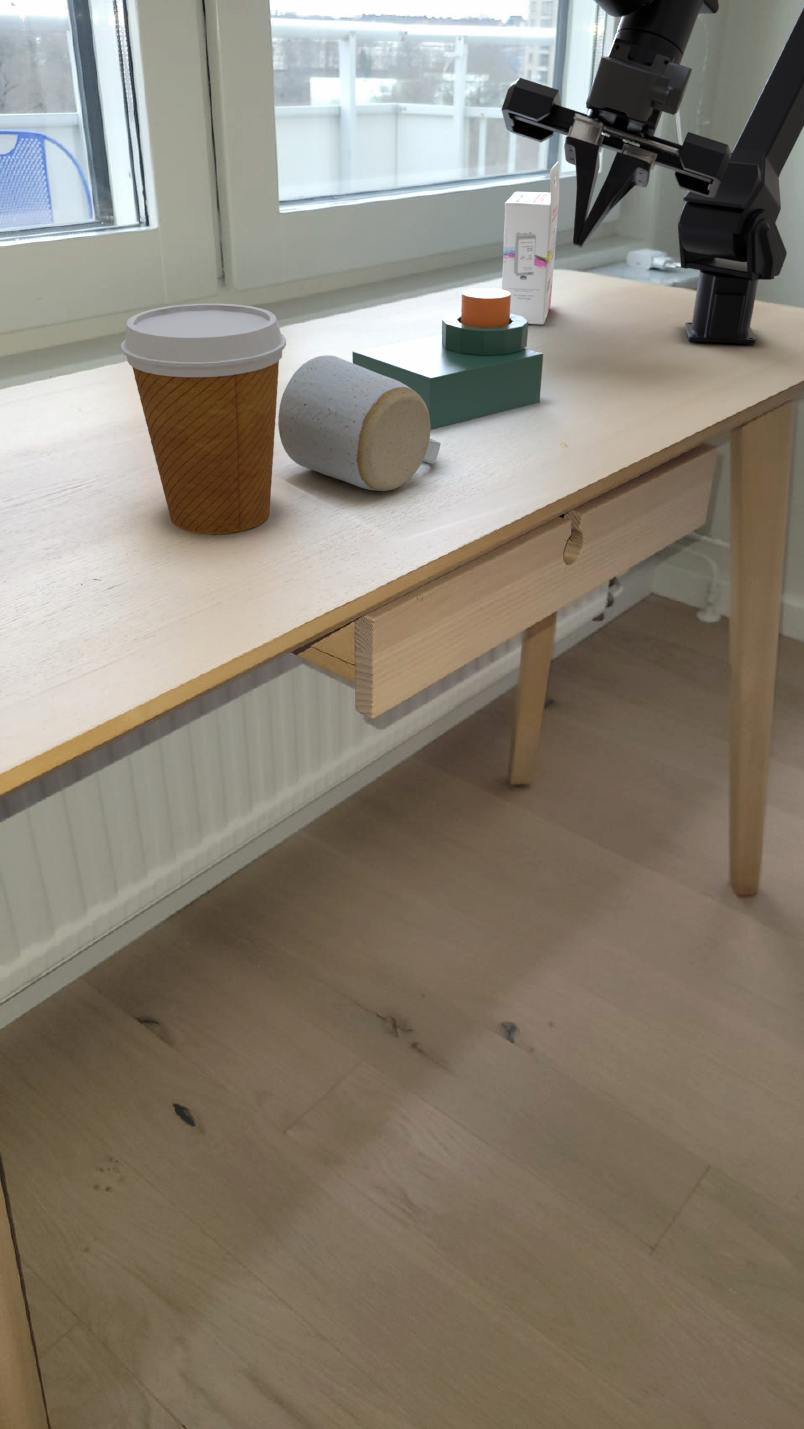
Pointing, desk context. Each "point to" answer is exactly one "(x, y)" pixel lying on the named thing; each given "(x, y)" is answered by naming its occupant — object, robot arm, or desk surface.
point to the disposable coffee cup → (209, 408)
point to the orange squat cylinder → (485, 307)
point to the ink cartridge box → (531, 250)
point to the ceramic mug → (355, 424)
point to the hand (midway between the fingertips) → (577, 245)
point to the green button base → (463, 369)
